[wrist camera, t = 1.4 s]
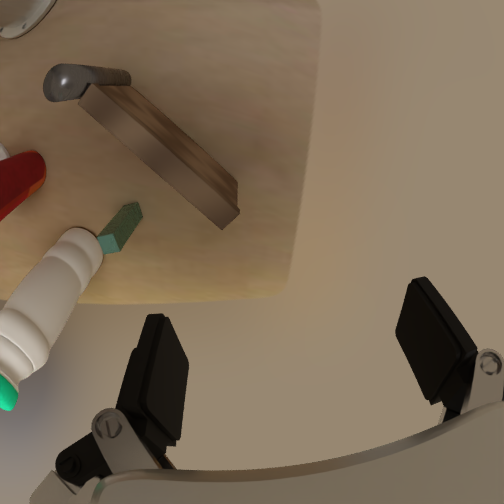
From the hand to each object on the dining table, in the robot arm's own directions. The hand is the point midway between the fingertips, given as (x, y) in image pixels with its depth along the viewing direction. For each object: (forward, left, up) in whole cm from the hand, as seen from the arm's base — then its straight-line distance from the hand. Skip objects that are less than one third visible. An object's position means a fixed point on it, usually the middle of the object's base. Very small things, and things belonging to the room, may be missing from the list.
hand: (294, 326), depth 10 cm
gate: (-5, -7, -22) cm, 24 cm away
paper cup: (-7, -29, -23) cm, 38 cm away
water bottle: (+6, -25, -23) cm, 35 cm away
